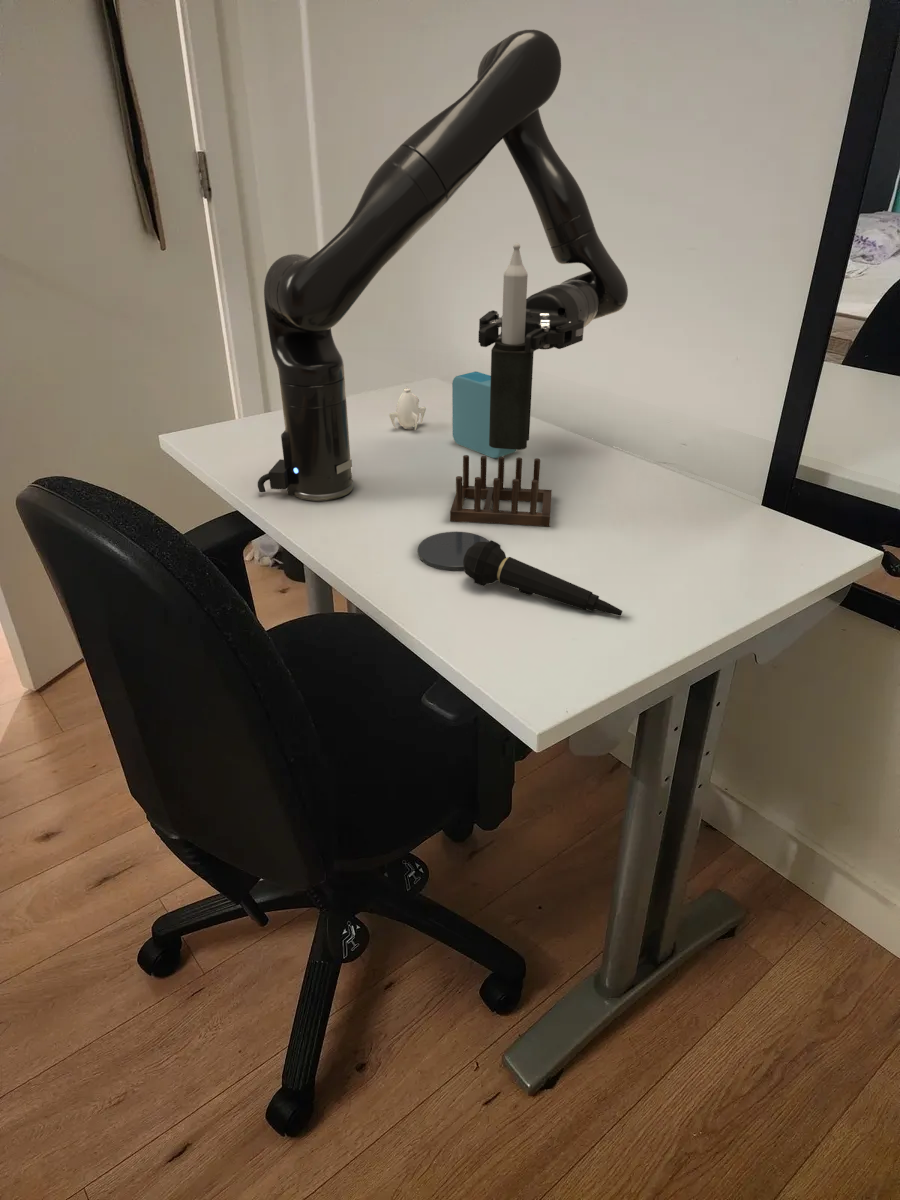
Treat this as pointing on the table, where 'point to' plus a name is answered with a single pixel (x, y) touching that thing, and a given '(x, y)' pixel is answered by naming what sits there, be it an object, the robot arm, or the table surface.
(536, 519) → the drying rack
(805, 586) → the table surface
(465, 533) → the slate coaster
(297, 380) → the robot arm
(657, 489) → the table surface
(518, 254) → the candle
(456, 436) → the data package
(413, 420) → the rocket toy
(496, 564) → the microphone
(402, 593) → the table surface
